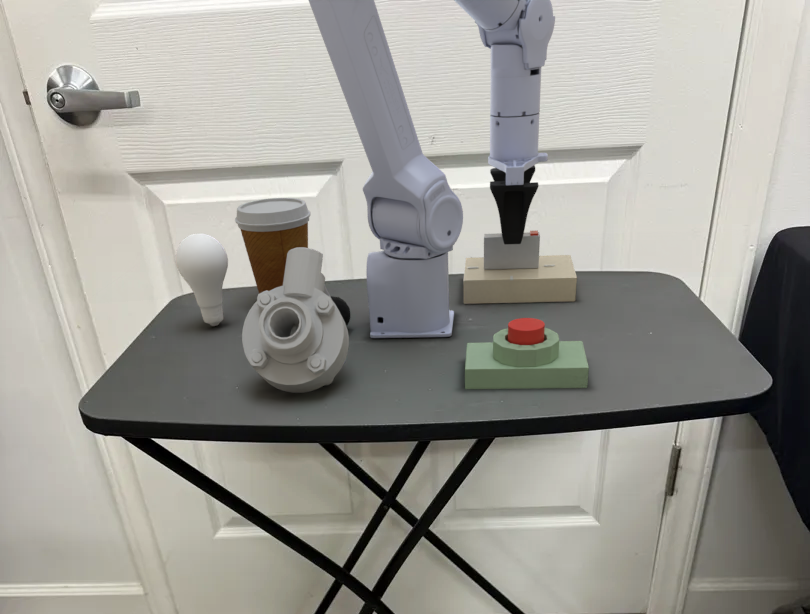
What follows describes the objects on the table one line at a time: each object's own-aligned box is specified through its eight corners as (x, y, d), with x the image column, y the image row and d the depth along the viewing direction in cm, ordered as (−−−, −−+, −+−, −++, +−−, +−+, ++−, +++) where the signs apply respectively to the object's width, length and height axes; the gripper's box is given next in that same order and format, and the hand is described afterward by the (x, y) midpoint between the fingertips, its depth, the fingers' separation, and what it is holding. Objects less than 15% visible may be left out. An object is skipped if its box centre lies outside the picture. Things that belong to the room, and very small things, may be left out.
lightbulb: (249, 323, 97) (233, 231, 91) (208, 337, 93) (189, 243, 87) (220, 313, 100) (203, 225, 94) (180, 327, 97) (159, 236, 91)
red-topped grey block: (483, 269, 100) (483, 235, 97) (483, 265, 101) (484, 231, 99) (538, 268, 99) (540, 233, 96) (537, 264, 100) (539, 230, 98)
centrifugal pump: (364, 429, 92) (380, 307, 93) (330, 380, 72) (350, 227, 74) (280, 421, 93) (297, 301, 94) (225, 370, 74) (247, 220, 75)
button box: (465, 389, 77) (464, 351, 75) (467, 362, 83) (466, 326, 81) (587, 388, 76) (590, 349, 74) (580, 360, 82) (583, 323, 79)
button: (507, 348, 76) (508, 330, 75) (507, 334, 79) (507, 318, 78) (544, 347, 76) (545, 330, 75) (543, 334, 79) (543, 317, 78)
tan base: (463, 305, 98) (463, 280, 96) (466, 278, 107) (465, 255, 105) (575, 303, 96) (577, 277, 95) (568, 276, 105) (570, 252, 104)
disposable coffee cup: (261, 289, 108) (246, 197, 101) (327, 289, 107) (317, 195, 100) (239, 312, 100) (222, 215, 93) (311, 312, 99) (298, 213, 92)
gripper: (553, 120, 84) (547, 250, 91) (546, 104, 95) (541, 220, 103) (487, 124, 84) (487, 252, 92) (488, 107, 96) (488, 222, 104)
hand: (511, 235), depth 98 cm, fingers open, 7 cm apart
